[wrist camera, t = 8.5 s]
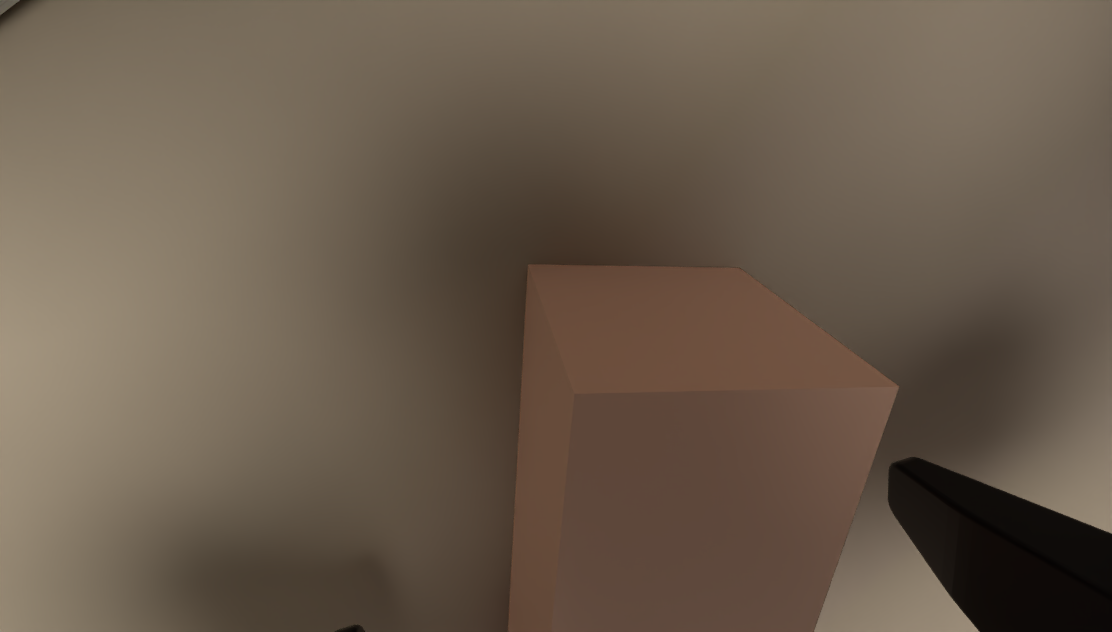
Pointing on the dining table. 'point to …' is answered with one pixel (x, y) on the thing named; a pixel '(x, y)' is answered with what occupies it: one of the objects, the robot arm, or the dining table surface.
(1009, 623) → the robot arm
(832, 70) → the dining table surface
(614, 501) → the tall terracotta pillar
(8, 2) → the supplement box
